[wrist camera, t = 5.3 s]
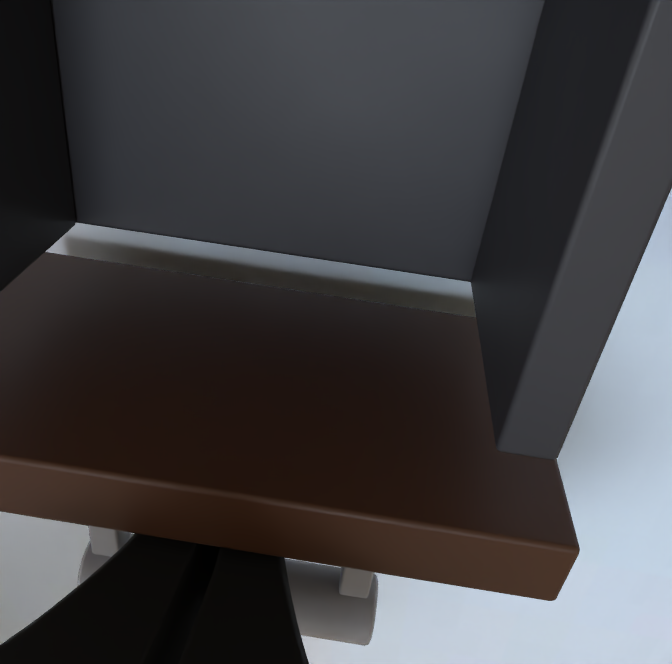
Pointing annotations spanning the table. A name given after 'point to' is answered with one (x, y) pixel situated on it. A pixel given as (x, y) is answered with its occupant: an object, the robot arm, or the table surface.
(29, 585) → the table surface
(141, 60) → the brown box drawer
